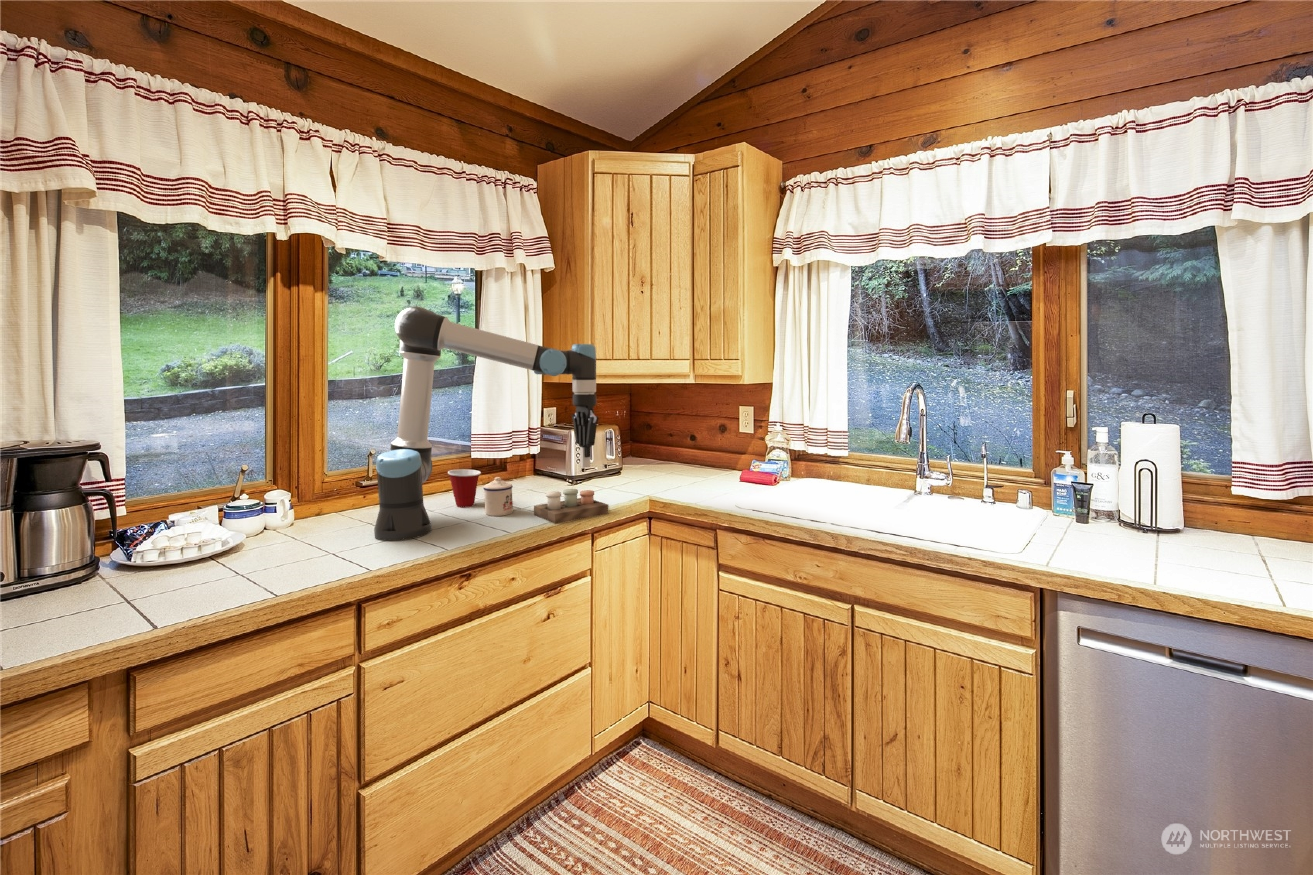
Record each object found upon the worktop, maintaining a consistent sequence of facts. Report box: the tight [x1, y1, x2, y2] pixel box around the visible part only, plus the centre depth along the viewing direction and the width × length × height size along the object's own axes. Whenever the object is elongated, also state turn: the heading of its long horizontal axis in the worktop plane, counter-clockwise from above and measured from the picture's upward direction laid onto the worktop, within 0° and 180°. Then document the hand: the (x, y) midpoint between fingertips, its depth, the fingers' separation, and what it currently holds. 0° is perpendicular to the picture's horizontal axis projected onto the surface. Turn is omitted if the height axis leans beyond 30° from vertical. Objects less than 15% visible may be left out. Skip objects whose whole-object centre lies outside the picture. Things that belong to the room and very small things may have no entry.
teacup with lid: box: [483, 476, 514, 517], centre depth 199 cm, size 12×9×12 cm
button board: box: [533, 497, 609, 525], centre depth 195 cm, size 19×14×3 cm
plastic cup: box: [447, 468, 482, 508], centre depth 209 cm, size 11×11×12 cm
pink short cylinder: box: [579, 489, 595, 505], centre depth 199 cm, size 5×5×5 cm
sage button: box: [562, 488, 579, 508], centre depth 195 cm, size 5×5×5 cm
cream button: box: [545, 490, 562, 511], centre depth 191 cm, size 5×5×5 cm
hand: (585, 466), depth 197 cm, fingers closed
